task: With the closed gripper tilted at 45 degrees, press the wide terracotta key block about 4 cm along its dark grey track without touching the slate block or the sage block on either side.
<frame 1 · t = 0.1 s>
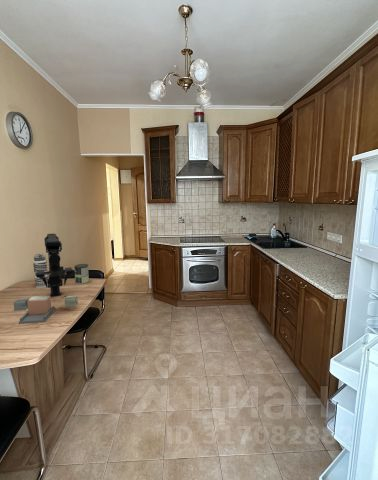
hand: (56, 286, 148), 15 cm above the table, tool pointing down, fingers open, 9 cm apart
slate block: (22, 308, 151), on the table
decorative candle: (42, 286, 191), on the table
terracotta key block: (39, 304, 143), point 6 cm above the table, slide at 0.0 cm
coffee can: (82, 282, 201), on the table
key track: (40, 313, 144), on the table
sage block: (71, 305, 156), on the table
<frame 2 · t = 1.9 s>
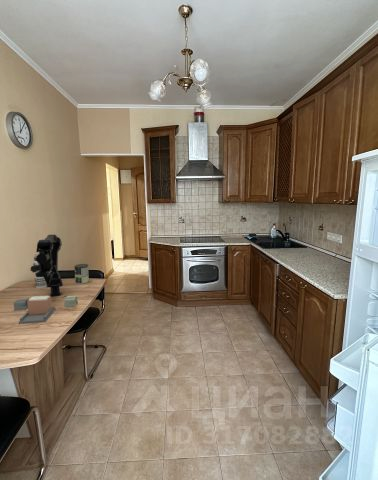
hand: (48, 284, 156), 13 cm above the table, tool pointing down, fingers closed
nothing on the table moved.
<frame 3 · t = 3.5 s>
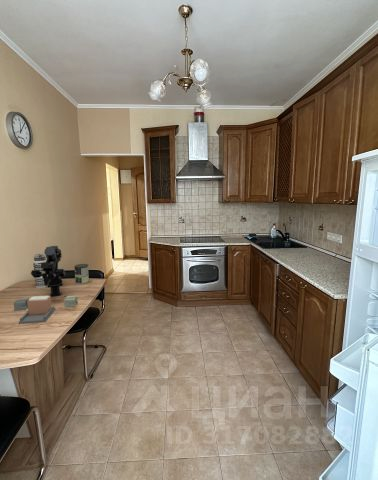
hand: (45, 285, 152), 13 cm above the table, tool tilted 45°, fingers closed
nothing on the table moved.
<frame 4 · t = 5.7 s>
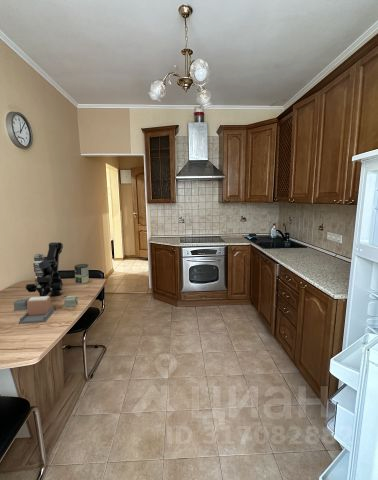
hand: (41, 300, 145), 7 cm above the table, tool tilted 45°, fingers closed, pressing on terracotta key block
terracotta key block: (39, 305, 142), point 6 cm above the table, slide at 0.7 cm, touching gripper
everything else where it was.
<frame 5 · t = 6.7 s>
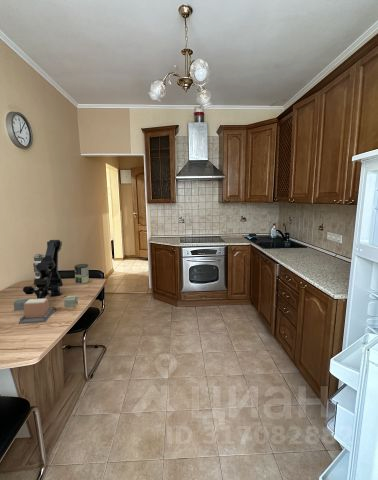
hand: (38, 303, 142), 7 cm above the table, tool tilted 45°, fingers closed, pressing on terracotta key block
terracotta key block: (36, 307, 139), point 6 cm above the table, slide at 4.2 cm, touching gripper
everything else where it was.
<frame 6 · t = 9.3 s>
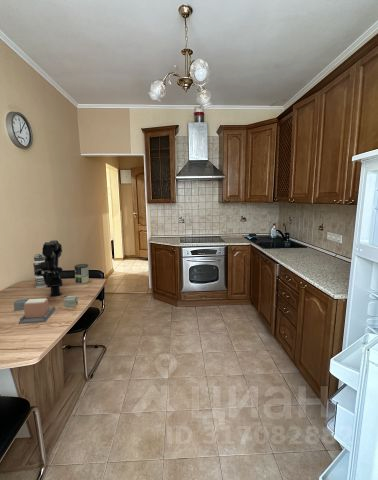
hand: (46, 285, 154), 13 cm above the table, tool tilted 30°, fingers closed
terracotta key block: (36, 307, 139), point 6 cm above the table, slide at 4.2 cm
everything else where it was.
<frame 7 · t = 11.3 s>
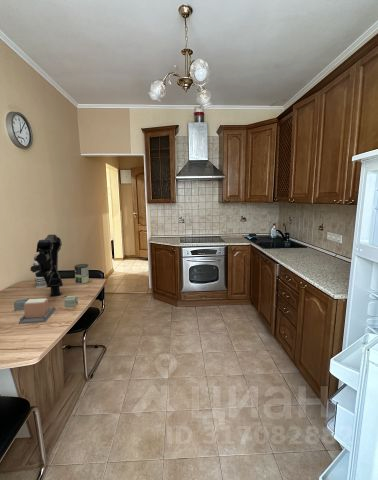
hand: (48, 284, 156), 13 cm above the table, tool pointing down, fingers closed
nothing on the table moved.
at the end: terracotta key block slide at 4.2 cm; slate block moved 0.2 cm from its start; sage block moved 0.2 cm from its start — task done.
